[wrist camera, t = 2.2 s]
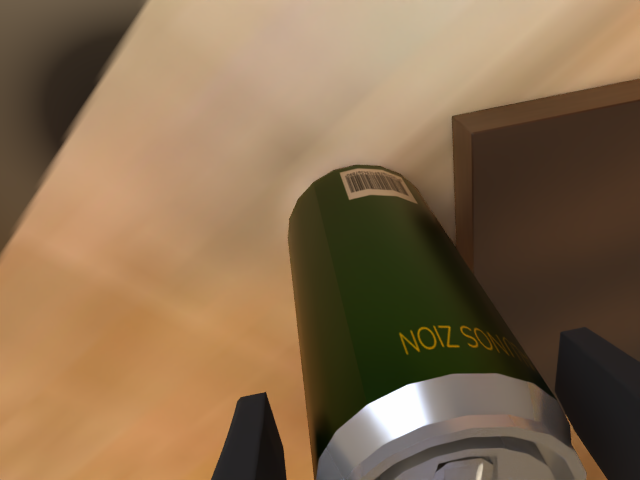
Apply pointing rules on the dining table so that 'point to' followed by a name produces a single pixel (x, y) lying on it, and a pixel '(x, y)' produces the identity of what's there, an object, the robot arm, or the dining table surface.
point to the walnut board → (554, 216)
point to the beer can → (409, 347)
